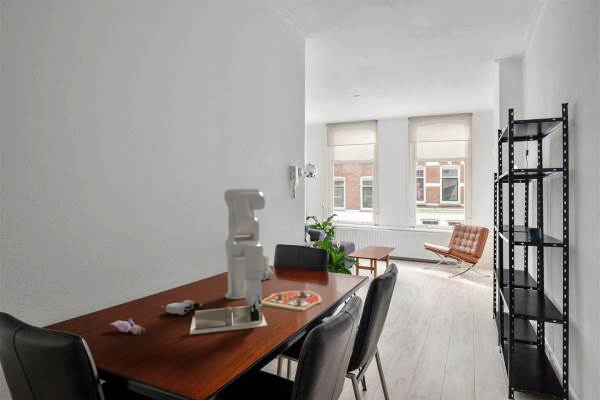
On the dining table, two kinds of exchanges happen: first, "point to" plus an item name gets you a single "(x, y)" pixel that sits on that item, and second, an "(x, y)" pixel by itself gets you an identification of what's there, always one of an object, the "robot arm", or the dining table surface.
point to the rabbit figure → (128, 326)
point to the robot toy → (181, 307)
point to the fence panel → (244, 315)
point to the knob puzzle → (293, 300)
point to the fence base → (213, 318)
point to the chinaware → (266, 268)
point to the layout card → (224, 328)
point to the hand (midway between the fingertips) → (254, 320)
